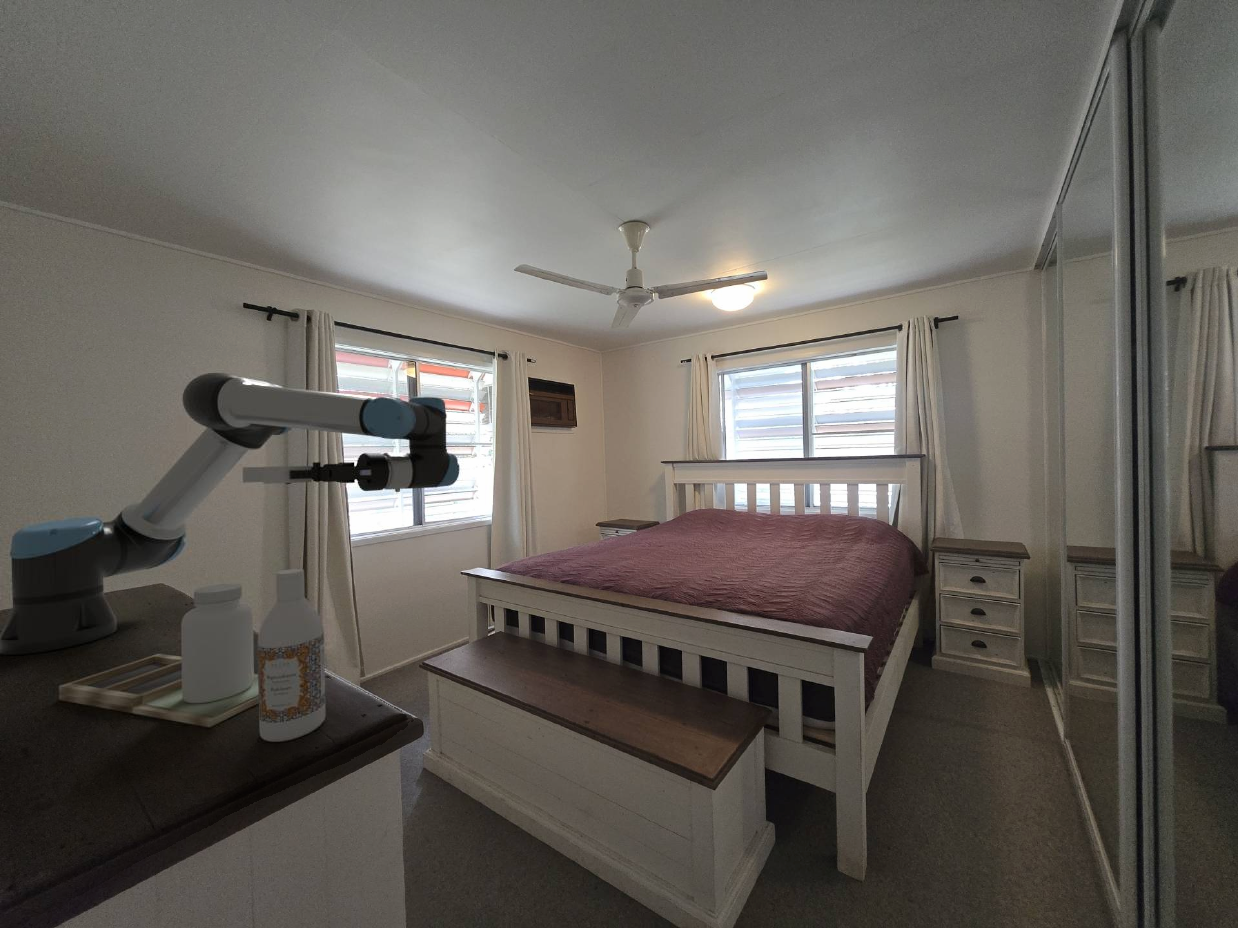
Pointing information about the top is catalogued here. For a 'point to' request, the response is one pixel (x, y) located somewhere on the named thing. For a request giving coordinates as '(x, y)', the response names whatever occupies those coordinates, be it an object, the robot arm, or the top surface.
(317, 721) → the bath foam
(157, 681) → the tray
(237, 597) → the pill bottle
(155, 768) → the top surface
